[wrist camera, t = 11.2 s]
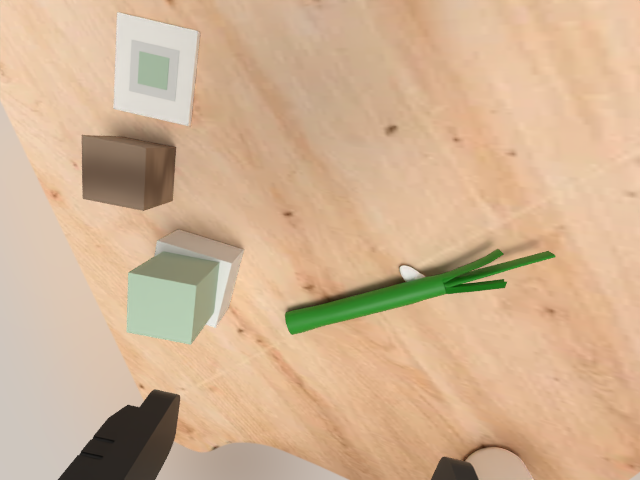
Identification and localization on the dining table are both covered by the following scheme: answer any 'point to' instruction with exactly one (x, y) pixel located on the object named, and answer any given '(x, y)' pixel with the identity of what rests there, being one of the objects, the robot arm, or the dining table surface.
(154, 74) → the card
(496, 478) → the alcohol
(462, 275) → the green onion
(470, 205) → the dining table surface
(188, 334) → the sage block
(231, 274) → the grey base block
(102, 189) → the walnut block
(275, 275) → the dining table surface
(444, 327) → the dining table surface
